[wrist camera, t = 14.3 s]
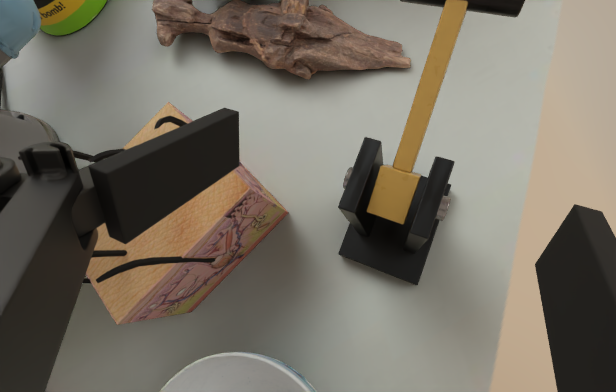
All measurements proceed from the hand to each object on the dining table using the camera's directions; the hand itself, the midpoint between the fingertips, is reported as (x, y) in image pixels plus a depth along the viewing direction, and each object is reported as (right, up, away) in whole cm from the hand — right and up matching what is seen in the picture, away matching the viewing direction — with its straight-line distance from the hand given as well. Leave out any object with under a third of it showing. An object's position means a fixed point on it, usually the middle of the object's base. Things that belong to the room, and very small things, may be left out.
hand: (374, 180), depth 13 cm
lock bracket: (+5, -3, +17) cm, 18 cm away
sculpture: (-6, +17, +24) cm, 30 cm away
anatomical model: (-13, -4, +21) cm, 25 cm away
